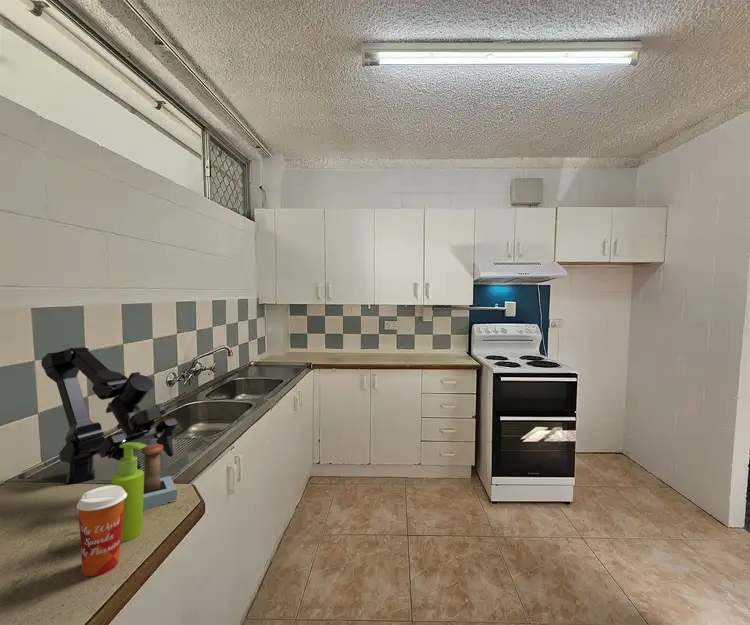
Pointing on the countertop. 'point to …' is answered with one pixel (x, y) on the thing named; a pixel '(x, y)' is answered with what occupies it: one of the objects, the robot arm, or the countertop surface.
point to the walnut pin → (152, 467)
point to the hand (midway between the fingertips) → (156, 462)
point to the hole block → (160, 494)
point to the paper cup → (101, 528)
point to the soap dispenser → (131, 491)
